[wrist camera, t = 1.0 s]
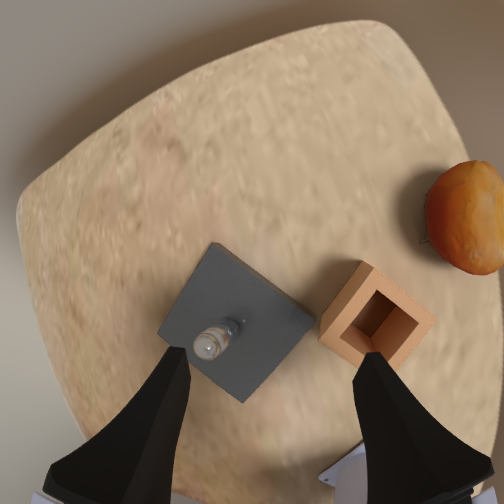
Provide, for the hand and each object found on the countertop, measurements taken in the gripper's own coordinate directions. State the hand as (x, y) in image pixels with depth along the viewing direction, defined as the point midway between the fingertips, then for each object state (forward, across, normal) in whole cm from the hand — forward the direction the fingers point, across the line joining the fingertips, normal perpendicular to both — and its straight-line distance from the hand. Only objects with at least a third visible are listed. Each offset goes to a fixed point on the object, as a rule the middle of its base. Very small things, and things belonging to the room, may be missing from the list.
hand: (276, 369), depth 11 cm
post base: (+11, +2, +8) cm, 14 cm away
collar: (+9, -8, +5) cm, 13 cm away
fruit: (+11, -15, -3) cm, 19 cm away
